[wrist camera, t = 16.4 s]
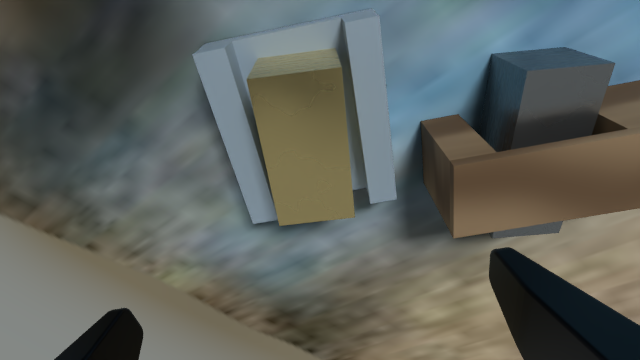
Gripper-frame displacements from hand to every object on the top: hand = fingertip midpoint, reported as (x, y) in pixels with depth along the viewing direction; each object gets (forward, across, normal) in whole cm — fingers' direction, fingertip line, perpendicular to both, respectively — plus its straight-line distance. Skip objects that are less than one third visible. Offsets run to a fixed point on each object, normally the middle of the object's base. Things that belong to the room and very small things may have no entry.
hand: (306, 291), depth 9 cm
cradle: (+12, 0, 0) cm, 12 cm away
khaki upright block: (+11, 0, 0) cm, 11 cm away
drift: (+12, -11, +3) cm, 17 cm away
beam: (+12, -12, +4) cm, 17 cm away
